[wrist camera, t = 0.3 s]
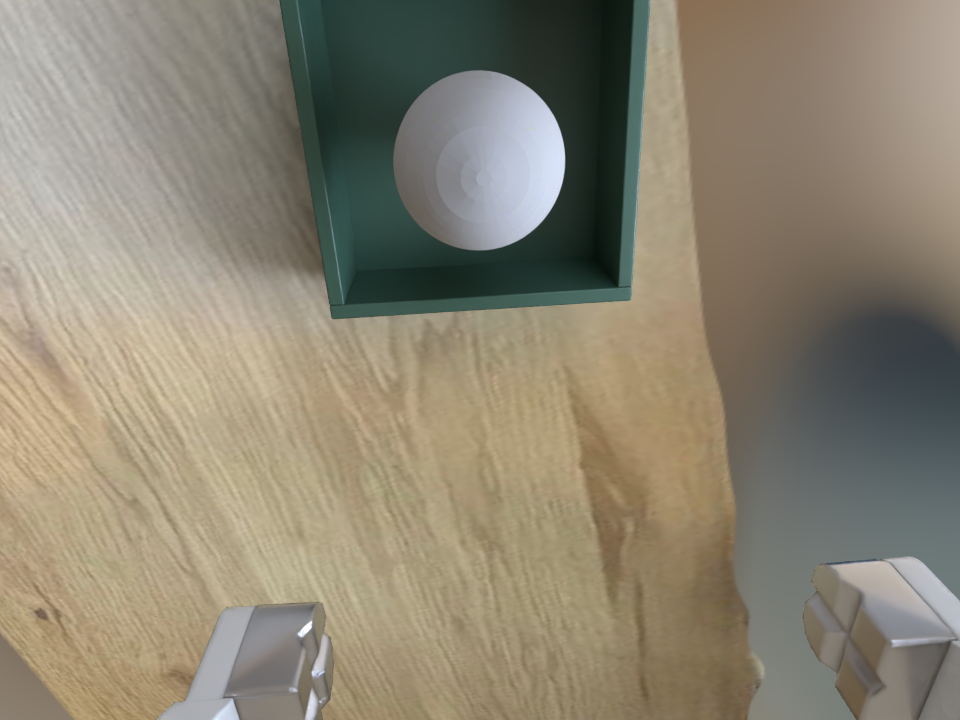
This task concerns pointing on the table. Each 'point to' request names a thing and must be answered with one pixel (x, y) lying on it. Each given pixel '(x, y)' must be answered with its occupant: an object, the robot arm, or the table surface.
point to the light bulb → (479, 160)
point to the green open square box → (393, 89)
